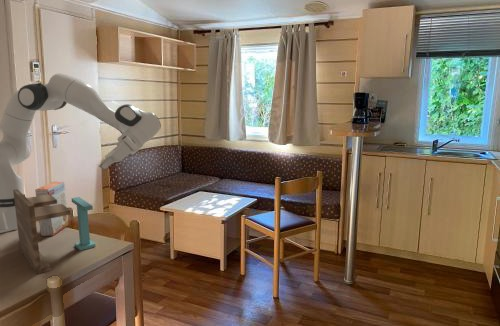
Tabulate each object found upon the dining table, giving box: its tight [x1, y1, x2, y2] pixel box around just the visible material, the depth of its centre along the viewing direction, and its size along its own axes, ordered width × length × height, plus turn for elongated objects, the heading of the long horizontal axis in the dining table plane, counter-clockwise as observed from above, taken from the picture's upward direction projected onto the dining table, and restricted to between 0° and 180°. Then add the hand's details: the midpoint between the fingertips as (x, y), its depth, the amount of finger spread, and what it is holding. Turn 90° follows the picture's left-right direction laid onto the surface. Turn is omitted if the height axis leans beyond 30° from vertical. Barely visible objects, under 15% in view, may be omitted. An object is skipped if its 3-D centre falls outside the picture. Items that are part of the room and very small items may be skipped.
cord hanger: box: [71, 196, 96, 252], centre depth 153 cm, size 6×16×18 cm, turn 40°
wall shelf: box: [13, 189, 72, 275], centre depth 144 cm, size 12×28×24 cm, turn 40°
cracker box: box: [35, 181, 69, 237], centre depth 171 cm, size 14×6×21 cm, turn 178°
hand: (101, 167), depth 151 cm, fingers open, 8 cm apart
